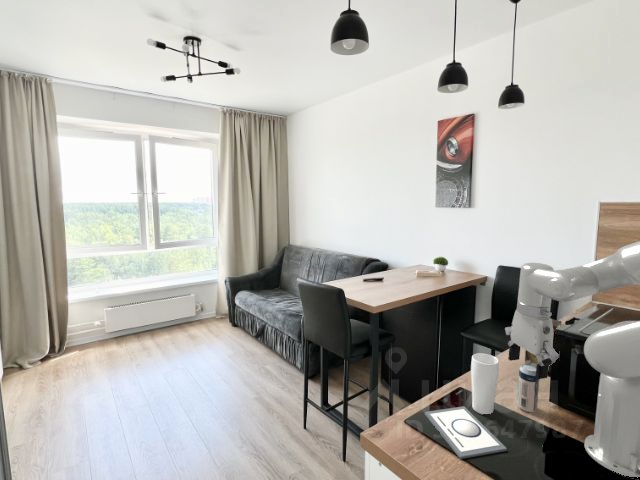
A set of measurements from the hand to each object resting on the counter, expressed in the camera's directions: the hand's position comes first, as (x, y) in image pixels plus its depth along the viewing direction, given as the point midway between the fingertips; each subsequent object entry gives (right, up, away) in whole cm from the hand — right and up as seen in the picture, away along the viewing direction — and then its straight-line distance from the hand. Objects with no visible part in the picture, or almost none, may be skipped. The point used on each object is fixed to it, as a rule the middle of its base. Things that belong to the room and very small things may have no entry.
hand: (526, 368), depth 95 cm
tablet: (-21, -13, -8) cm, 26 cm away
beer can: (+1, -12, +1) cm, 12 cm away
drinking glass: (-12, -12, 0) cm, 17 cm away
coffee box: (+20, -8, +25) cm, 33 cm away
